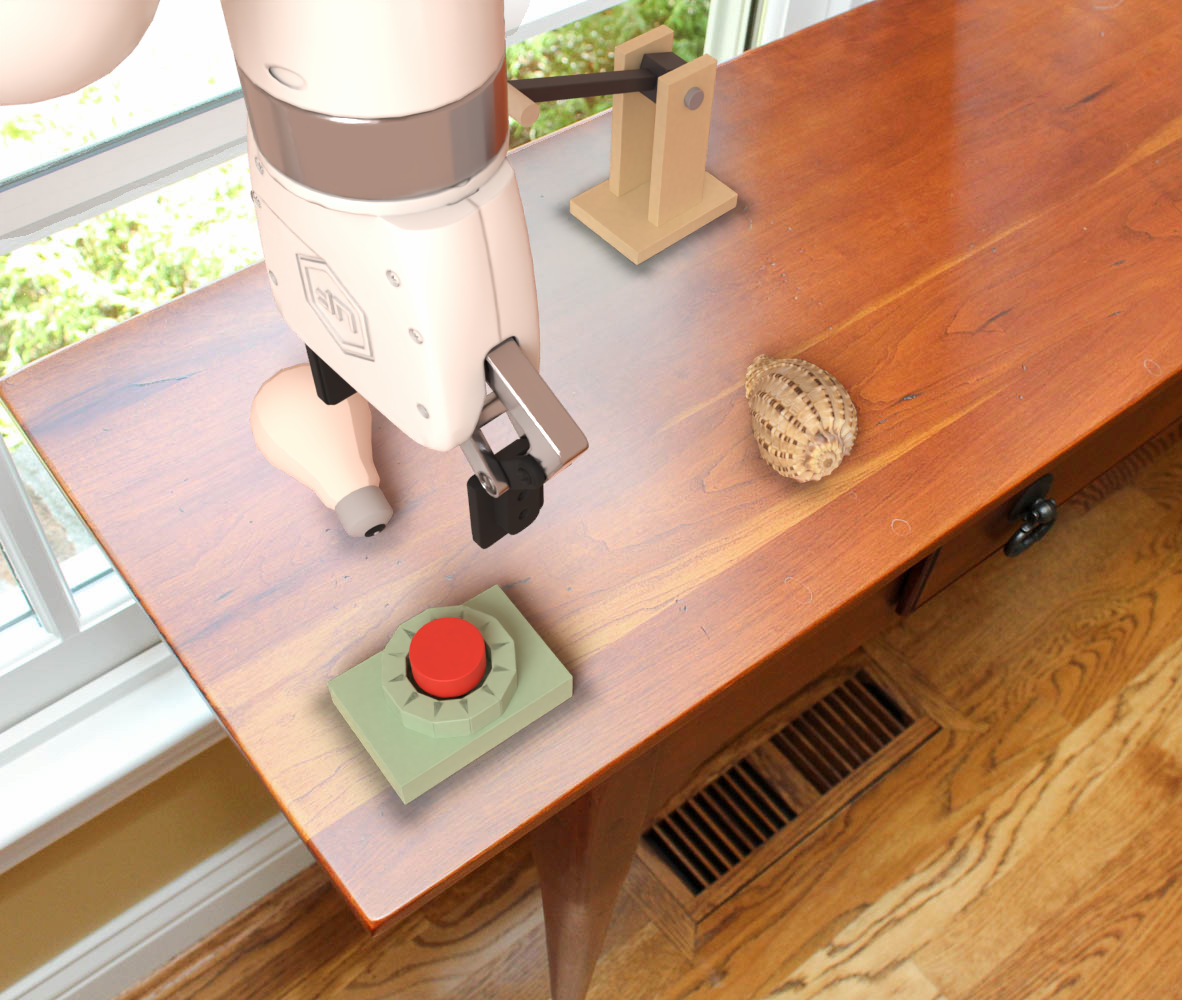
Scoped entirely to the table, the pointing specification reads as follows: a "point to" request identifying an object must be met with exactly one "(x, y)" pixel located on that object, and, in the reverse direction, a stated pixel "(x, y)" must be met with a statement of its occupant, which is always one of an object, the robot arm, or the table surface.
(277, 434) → the light bulb
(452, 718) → the control block
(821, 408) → the seashell
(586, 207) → the bracket
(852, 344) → the table surface
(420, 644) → the button
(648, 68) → the lever
